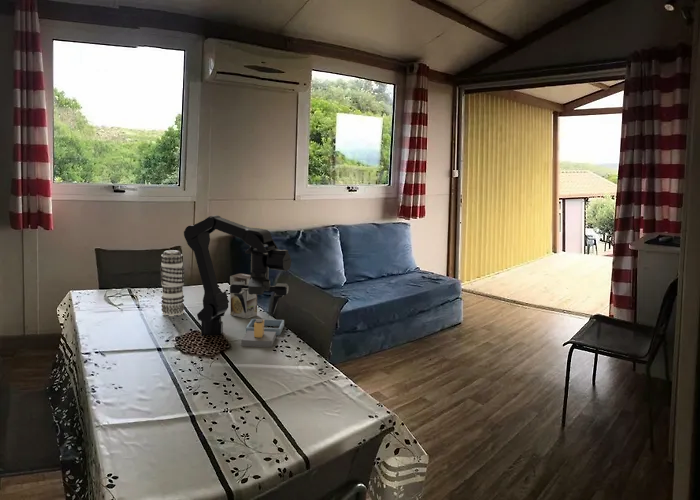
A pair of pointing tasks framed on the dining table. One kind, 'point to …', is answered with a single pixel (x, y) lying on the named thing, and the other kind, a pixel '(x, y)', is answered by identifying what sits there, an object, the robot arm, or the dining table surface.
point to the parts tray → (268, 323)
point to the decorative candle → (172, 283)
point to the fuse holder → (258, 339)
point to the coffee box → (250, 299)
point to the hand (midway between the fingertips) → (259, 313)
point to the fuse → (259, 328)
